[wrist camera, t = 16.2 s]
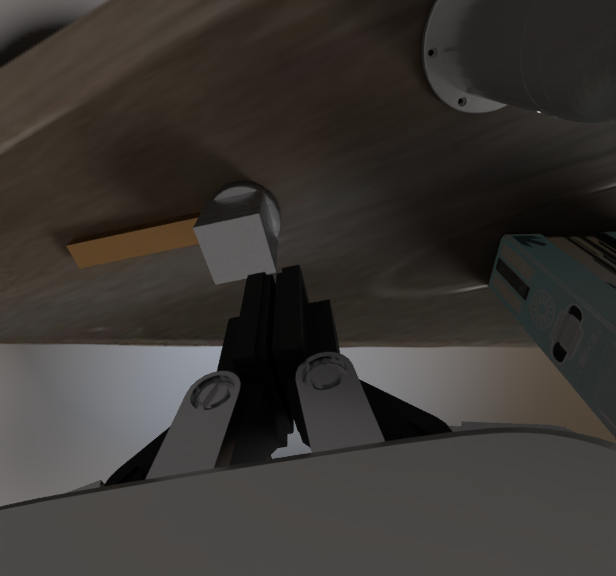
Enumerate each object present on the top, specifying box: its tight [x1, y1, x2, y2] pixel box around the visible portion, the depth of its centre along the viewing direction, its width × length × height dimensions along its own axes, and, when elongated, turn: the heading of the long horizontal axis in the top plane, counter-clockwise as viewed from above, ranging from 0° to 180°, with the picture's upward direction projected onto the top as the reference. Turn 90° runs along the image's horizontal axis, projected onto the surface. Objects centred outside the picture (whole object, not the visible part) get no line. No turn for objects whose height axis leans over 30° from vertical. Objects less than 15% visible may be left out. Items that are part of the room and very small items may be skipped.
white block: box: [193, 189, 278, 285], centre depth 39 cm, size 6×6×7 cm
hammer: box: [66, 181, 281, 268], centre depth 42 cm, size 24×8×6 cm, turn 102°
